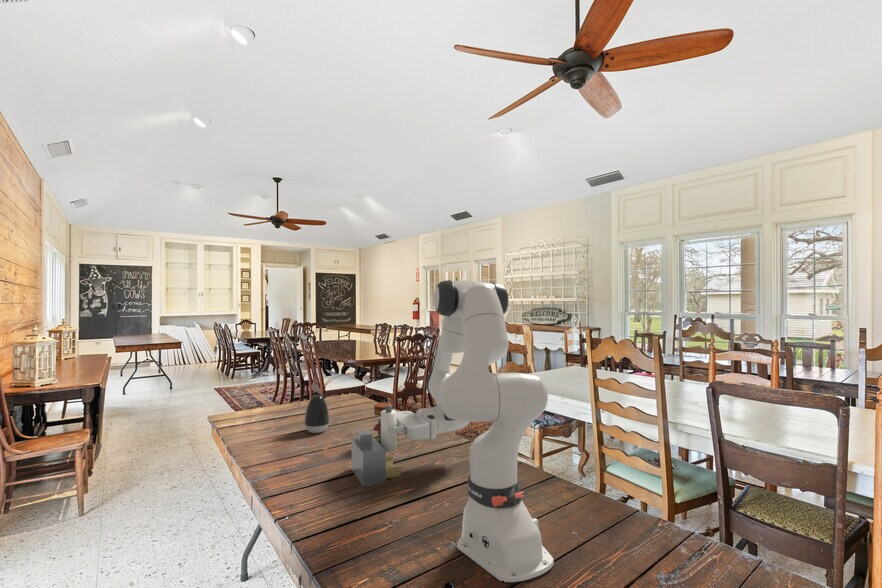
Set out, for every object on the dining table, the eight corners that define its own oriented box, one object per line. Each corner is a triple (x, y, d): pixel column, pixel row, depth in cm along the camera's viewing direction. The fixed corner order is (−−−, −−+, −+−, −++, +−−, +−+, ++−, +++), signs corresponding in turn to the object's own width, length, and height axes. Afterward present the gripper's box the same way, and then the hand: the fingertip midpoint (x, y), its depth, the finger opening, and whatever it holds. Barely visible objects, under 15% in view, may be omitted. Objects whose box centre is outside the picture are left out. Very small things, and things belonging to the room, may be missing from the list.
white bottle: (398, 450, 135) (398, 406, 135) (383, 452, 133) (383, 408, 133) (393, 444, 140) (393, 402, 140) (378, 447, 138) (378, 404, 138)
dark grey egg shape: (335, 430, 178) (335, 394, 178) (315, 437, 169) (315, 399, 169) (318, 425, 183) (318, 390, 183) (298, 432, 174) (299, 395, 174)
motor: (403, 478, 131) (404, 437, 131) (363, 487, 126) (363, 443, 126) (387, 460, 146) (387, 422, 146) (350, 467, 140) (350, 428, 140)
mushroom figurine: (392, 451, 154) (392, 410, 154) (362, 446, 159) (362, 406, 159) (406, 440, 165) (406, 402, 165) (378, 436, 170) (378, 399, 170)
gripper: (413, 404, 151) (376, 409, 145) (438, 420, 133) (396, 427, 127) (413, 422, 152) (376, 427, 146) (437, 440, 133) (396, 447, 127)
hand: (385, 427), depth 136 cm, fingers closed on white bottle, 5 cm apart
